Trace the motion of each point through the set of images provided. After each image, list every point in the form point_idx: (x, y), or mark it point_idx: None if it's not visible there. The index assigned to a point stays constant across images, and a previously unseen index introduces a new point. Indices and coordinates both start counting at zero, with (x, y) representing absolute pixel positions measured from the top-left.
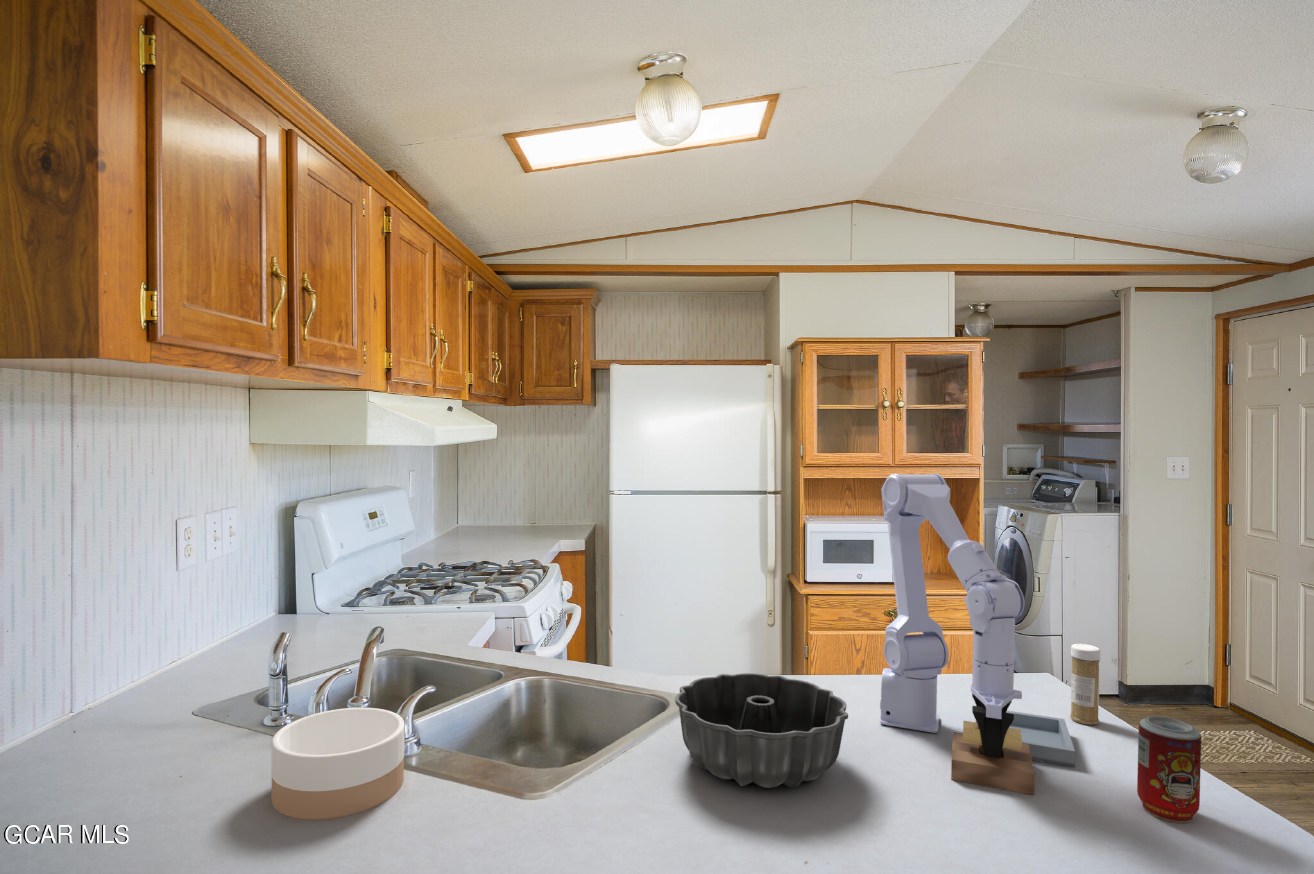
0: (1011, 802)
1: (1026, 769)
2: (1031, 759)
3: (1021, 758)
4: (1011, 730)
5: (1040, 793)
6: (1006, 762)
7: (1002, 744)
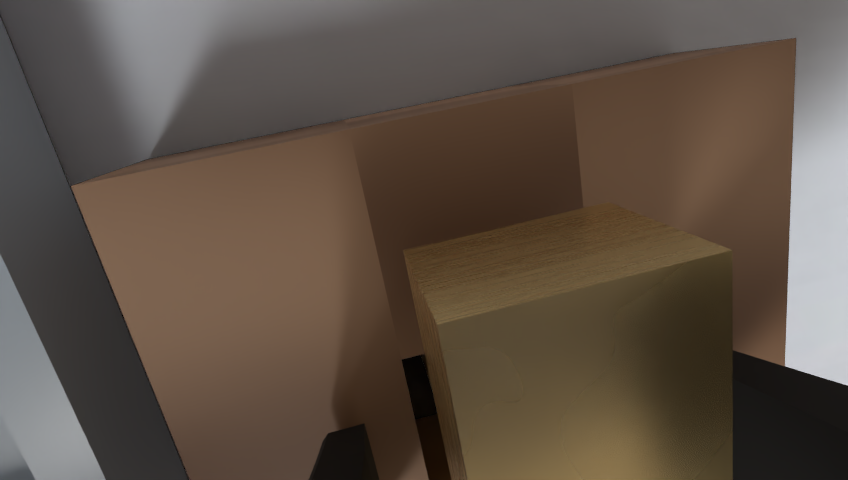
0: (815, 159)
1: (732, 113)
2: (490, 103)
3: (517, 188)
4: (569, 416)
5: (628, 17)
6: None
7: (831, 384)
